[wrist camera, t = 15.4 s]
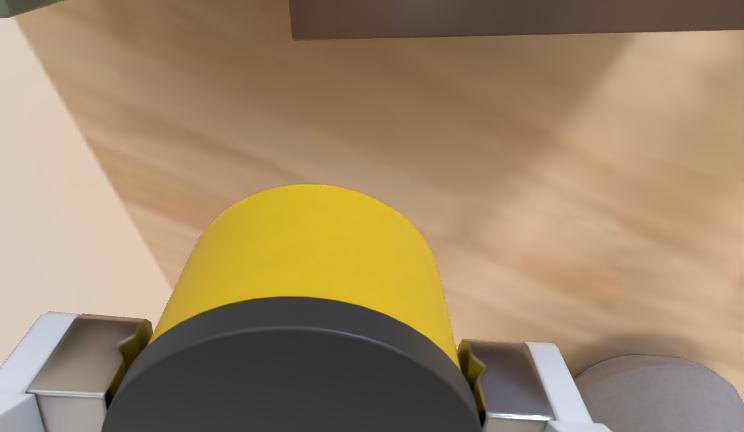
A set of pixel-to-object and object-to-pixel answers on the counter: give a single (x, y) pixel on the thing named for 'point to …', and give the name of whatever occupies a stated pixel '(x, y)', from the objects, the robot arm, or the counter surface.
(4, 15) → the drawer
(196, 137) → the counter surface
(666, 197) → the counter surface
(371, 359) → the jar
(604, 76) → the counter surface
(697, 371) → the coffee pot
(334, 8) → the cabinet
